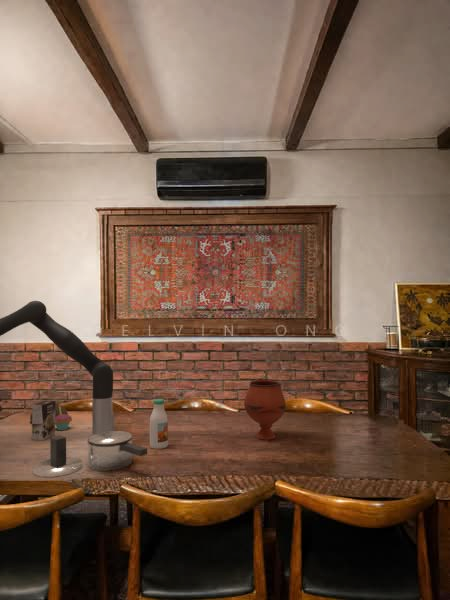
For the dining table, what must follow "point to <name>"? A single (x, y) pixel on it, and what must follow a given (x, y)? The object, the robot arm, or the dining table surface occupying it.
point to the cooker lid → (57, 461)
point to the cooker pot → (112, 450)
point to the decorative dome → (57, 411)
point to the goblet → (265, 405)
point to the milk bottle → (158, 426)
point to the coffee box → (43, 420)
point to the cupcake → (62, 421)
